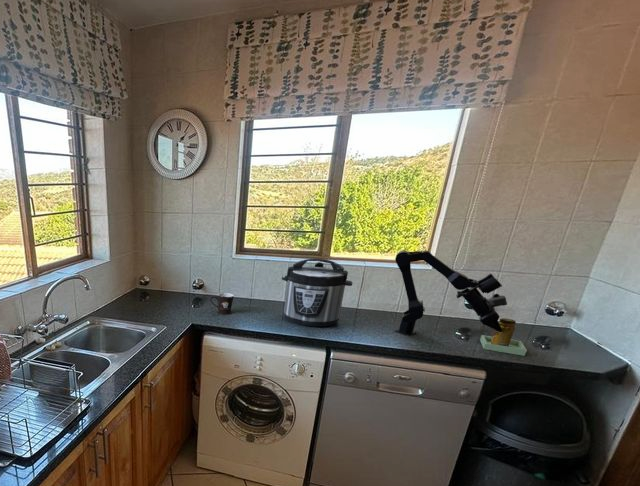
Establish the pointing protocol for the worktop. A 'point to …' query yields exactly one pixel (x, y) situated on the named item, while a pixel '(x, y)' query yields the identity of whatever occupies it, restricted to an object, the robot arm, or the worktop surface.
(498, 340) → the condiment
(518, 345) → the tray
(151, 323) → the worktop surface
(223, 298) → the coffee mug
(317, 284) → the pressure cooker
